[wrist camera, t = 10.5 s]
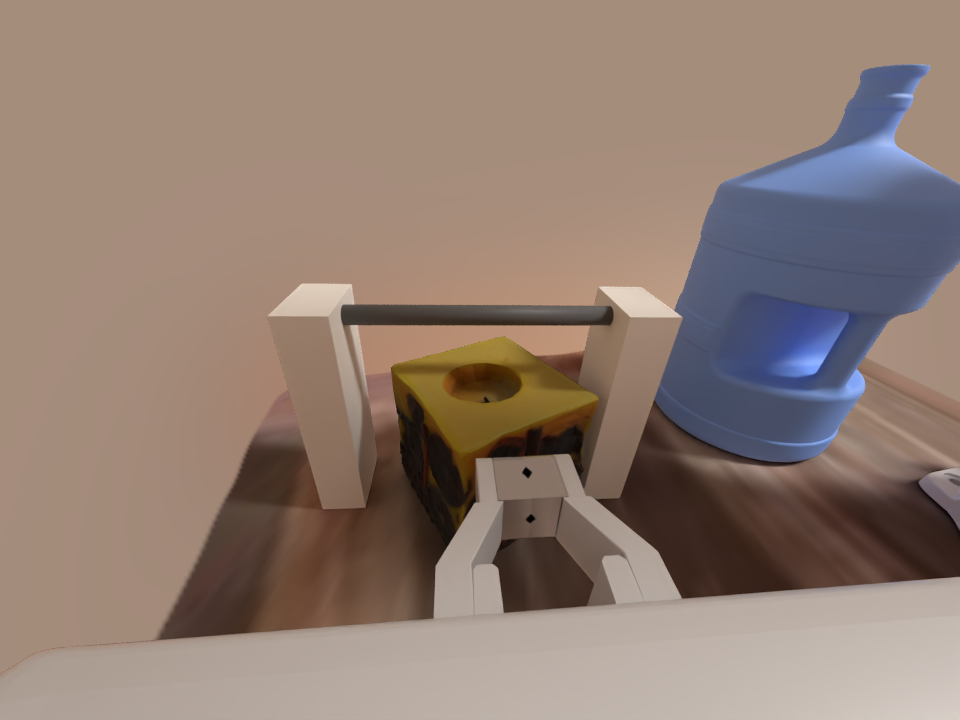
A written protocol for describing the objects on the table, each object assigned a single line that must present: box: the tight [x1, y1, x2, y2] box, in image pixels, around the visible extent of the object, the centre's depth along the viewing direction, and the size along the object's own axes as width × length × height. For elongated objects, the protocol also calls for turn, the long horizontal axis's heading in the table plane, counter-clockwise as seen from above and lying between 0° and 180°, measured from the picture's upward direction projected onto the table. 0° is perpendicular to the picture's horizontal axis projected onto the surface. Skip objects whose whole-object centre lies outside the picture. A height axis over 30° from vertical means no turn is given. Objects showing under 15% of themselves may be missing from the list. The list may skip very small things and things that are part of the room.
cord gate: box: [267, 284, 683, 509], centre depth 25 cm, size 22×5×15 cm, turn 94°
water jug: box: [654, 64, 960, 462], centre depth 30 cm, size 16×16×28 cm
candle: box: [391, 337, 599, 550], centre depth 26 cm, size 10×10×10 cm
